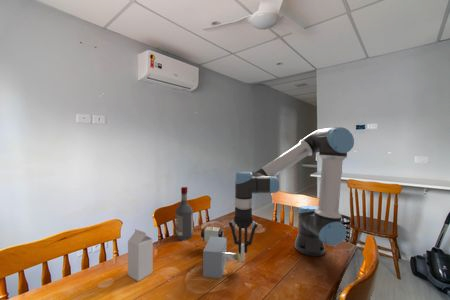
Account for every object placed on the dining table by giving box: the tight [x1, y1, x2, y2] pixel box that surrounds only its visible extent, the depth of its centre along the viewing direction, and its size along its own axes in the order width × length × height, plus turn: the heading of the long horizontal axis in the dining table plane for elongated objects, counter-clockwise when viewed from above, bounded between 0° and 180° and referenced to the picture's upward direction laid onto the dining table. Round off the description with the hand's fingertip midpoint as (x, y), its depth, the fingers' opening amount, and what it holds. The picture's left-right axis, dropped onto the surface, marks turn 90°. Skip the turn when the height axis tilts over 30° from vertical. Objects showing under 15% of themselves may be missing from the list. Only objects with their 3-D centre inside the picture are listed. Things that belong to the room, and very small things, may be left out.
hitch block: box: [202, 236, 228, 279], centre depth 94 cm, size 8×14×11 cm, turn 171°
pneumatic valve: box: [200, 226, 225, 243], centre depth 112 cm, size 6×12×12 cm, turn 79°
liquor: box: [174, 186, 194, 241], centre depth 125 cm, size 9×9×30 cm
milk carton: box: [127, 228, 154, 282], centre depth 89 cm, size 7×7×19 cm
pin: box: [224, 250, 242, 264], centre depth 94 cm, size 16×5×5 cm, turn 81°
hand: (242, 259), depth 92 cm, fingers closed
